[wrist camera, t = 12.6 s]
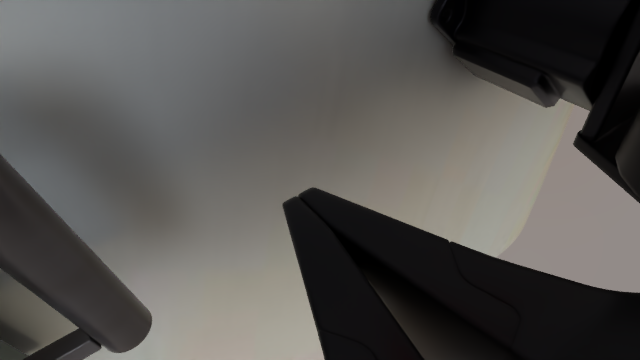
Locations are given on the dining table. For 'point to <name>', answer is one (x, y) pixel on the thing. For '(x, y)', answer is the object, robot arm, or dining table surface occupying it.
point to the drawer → (64, 277)
